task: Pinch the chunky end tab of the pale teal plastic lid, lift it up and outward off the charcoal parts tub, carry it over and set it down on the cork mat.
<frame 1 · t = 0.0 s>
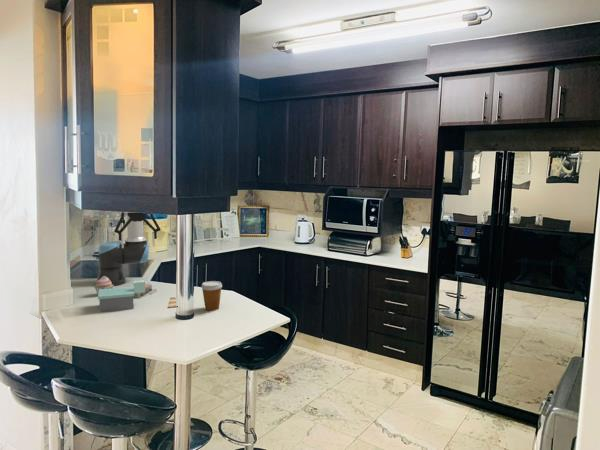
hand: (138, 246, 212), 28 cm above the countertop, fingers open, 13 cm apart
lid: (116, 294, 208), point 7 cm above the countertop, touching tub
packaged product: (140, 296, 232), on the countertop
tub: (117, 308, 209), on the countertop
block a: (110, 306, 210), point 1 cm above the countertop, touching tub
cupcake: (104, 295, 232), on the countertop
disposable coffee cup: (212, 309, 210), on the countertop
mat: (162, 303, 217), on the countertop
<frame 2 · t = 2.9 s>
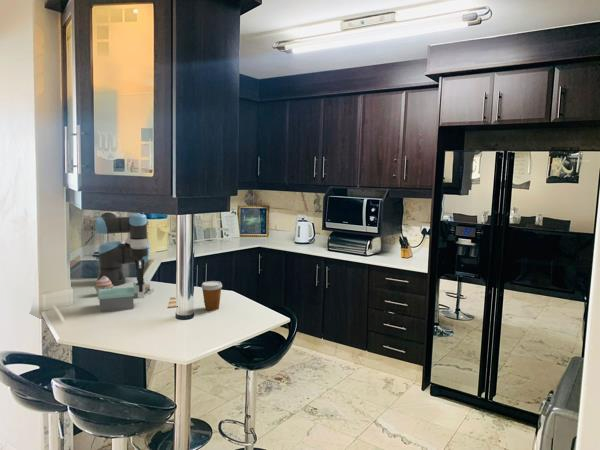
hand: (140, 296, 212), 5 cm above the countertop, fingers closed on lid, 3 cm apart
lid: (116, 294, 208), point 7 cm above the countertop, touching gripper, tub
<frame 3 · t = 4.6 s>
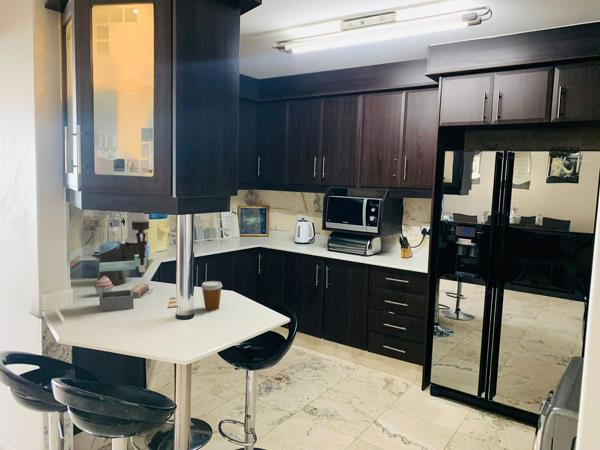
hand: (142, 270, 212), 17 cm above the countertop, fingers closed on lid, 3 cm apart
lid: (117, 267, 207), point 19 cm above the countertop, touching gripper
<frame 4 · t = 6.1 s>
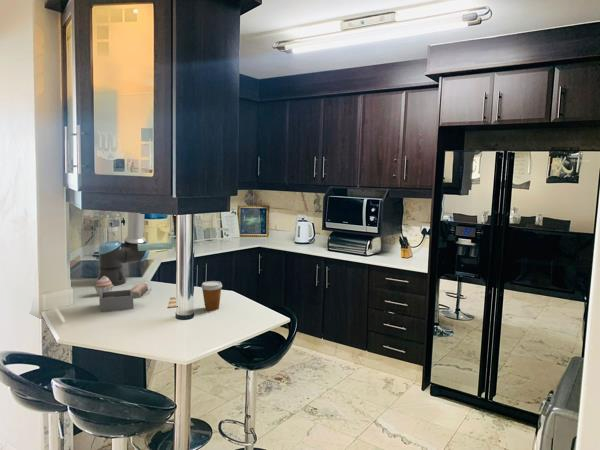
hand: (178, 251, 217), 25 cm above the countertop, fingers closed on lid, 3 cm apart
lid: (154, 247, 213), point 27 cm above the countertop, touching gripper
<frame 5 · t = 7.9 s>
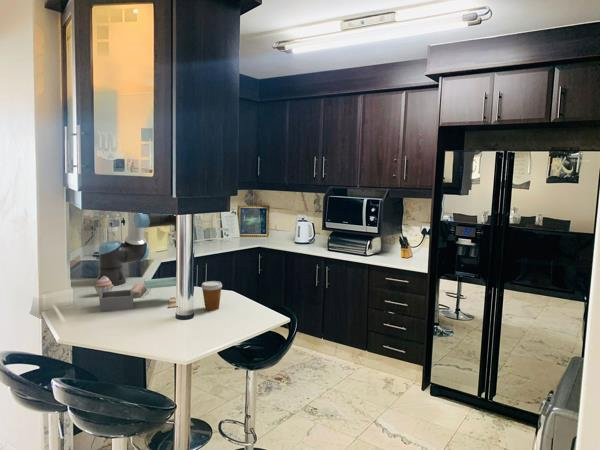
hand: (184, 286, 220), 7 cm above the countertop, fingers closed on lid, 3 cm apart
lid: (161, 284, 216), point 10 cm above the countertop, touching gripper
when the fingers open (2 cm above the countertop, at t = 9.4 s): lid drops 4 cm, resting on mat.
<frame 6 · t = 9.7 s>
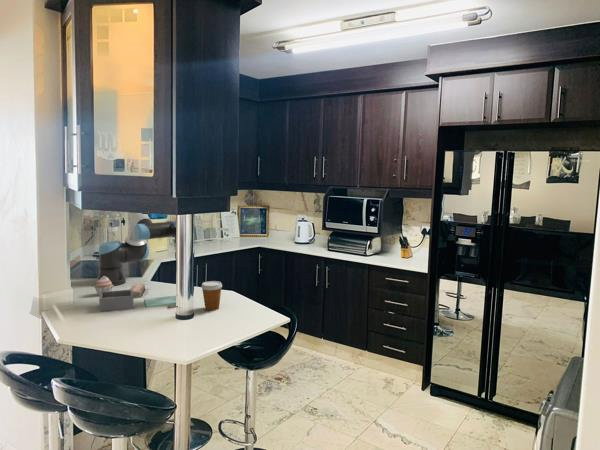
hand: (184, 297, 221), 2 cm above the countertop, fingers open, 8 cm apart
lid: (162, 302, 217), resting on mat
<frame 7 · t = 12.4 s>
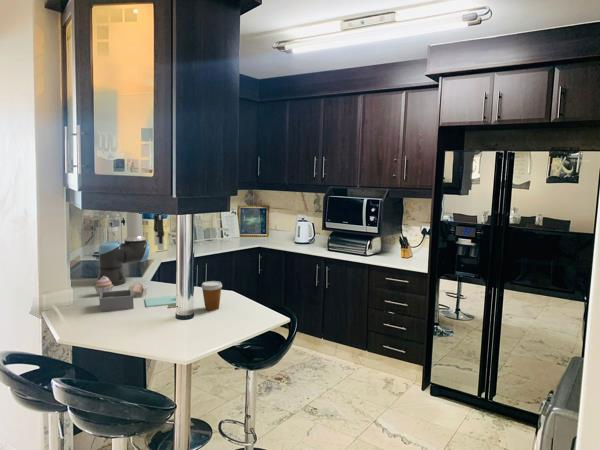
hand: (159, 247, 220), 26 cm above the countertop, fingers open, 13 cm apart
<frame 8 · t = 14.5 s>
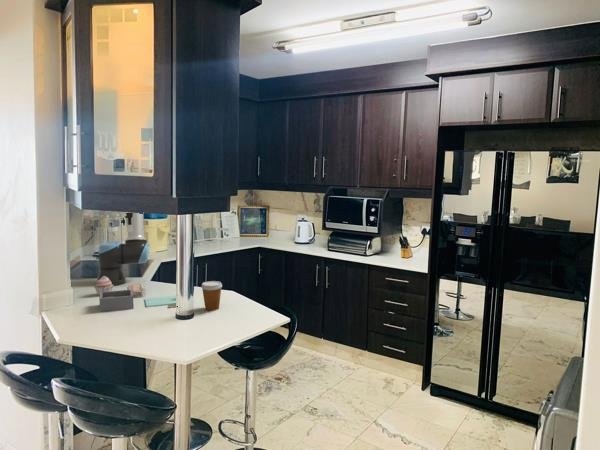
hand: (129, 229, 220), 35 cm above the countertop, fingers open, 13 cm apart
at the end: lid inside the target area (0.4 cm from its centre), resting on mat; the gripper is holding nothing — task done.
